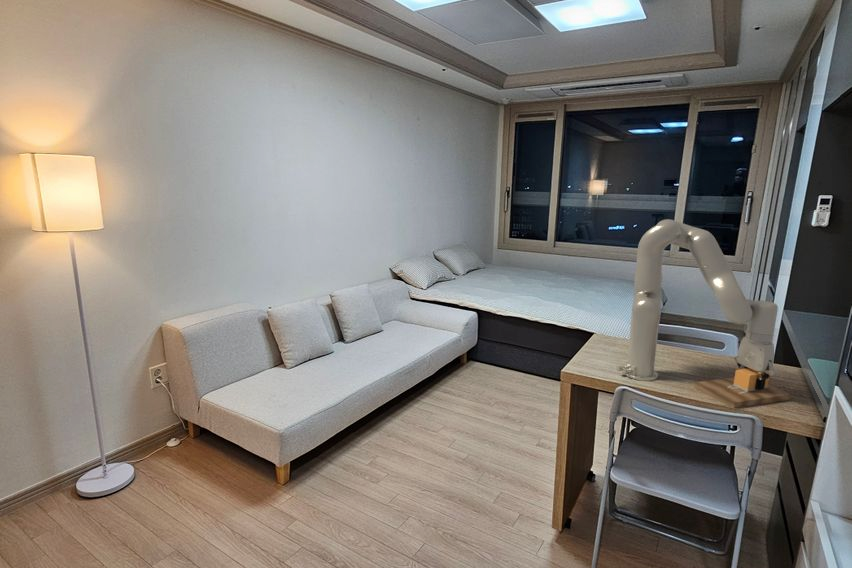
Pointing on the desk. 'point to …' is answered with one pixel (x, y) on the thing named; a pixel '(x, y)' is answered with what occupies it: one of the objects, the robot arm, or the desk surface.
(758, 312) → the robot arm
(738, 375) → the block
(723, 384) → the walnut board
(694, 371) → the desk surface
